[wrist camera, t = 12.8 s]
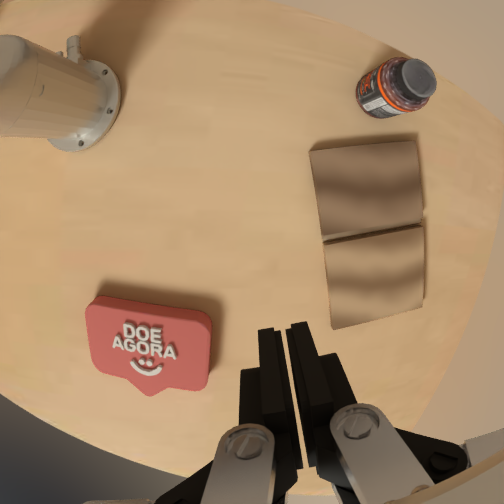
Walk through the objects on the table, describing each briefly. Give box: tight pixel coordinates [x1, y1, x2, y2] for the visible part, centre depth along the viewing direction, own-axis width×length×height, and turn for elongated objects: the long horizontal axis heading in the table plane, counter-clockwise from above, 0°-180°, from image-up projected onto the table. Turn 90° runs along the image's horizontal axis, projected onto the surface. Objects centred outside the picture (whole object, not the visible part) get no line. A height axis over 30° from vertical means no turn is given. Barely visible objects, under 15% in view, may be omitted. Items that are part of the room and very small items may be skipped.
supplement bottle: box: [356, 57, 437, 119], centre depth 26 cm, size 6×6×11 cm
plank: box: [323, 225, 424, 330], centre depth 38 cm, size 12×14×1 cm
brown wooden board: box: [309, 141, 423, 241], centre depth 34 cm, size 11×14×1 cm
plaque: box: [85, 296, 212, 396], centre depth 40 cm, size 18×4×15 cm
